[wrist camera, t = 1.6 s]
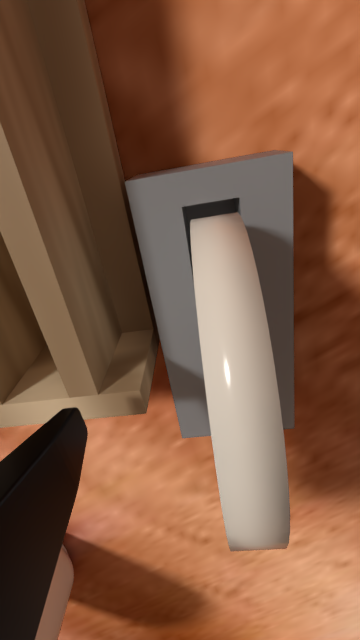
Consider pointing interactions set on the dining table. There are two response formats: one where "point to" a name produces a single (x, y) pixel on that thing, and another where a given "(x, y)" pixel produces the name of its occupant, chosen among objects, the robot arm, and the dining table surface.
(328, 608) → the dining table surface
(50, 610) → the mug
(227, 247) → the plate
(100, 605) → the dining table surface
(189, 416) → the stand
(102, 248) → the rack
